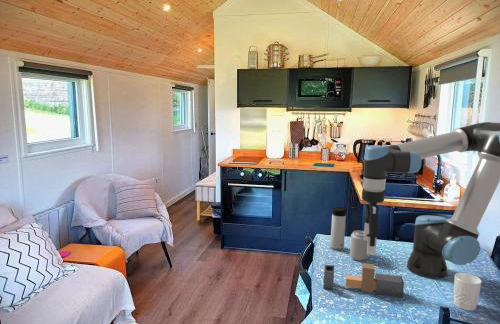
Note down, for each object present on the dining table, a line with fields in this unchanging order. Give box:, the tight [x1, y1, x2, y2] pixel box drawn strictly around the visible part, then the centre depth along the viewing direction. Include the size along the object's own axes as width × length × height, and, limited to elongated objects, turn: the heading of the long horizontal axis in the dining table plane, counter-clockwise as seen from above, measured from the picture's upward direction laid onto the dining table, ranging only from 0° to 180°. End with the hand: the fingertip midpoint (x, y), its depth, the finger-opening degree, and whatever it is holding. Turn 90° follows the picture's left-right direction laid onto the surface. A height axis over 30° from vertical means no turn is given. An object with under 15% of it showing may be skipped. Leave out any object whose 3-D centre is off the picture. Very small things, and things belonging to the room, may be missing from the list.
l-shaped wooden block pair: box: [345, 262, 377, 293], centre depth 131 cm, size 18×4×9 cm, turn 77°
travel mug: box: [329, 206, 348, 252], centre depth 169 cm, size 6×7×20 cm
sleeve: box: [374, 272, 405, 299], centre depth 130 cm, size 9×5×6 cm, turn 77°
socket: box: [323, 264, 335, 291], centre depth 134 cm, size 4×6×7 cm, turn 167°
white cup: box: [453, 272, 482, 312], centre depth 122 cm, size 8×8×10 cm
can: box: [349, 230, 368, 262], centre depth 159 cm, size 8×8×12 cm
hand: (369, 247), depth 129 cm, fingers open, 13 cm apart
